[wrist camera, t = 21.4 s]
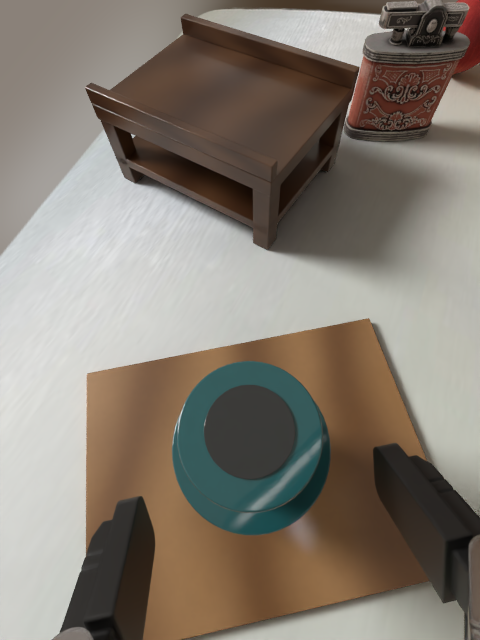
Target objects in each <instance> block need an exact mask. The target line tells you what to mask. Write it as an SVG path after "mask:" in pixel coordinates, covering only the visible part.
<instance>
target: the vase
mask: <svg viewBox="0 0 480 640" xmlns="http://www.w3.org/2000/svg"><path fill="white" fill-rule="evenodd" d="M172 461H173V467H174V472H175V476H176V479H177V482H178V484H179V486H180V489H181V491H182V493H183V494H184V496H185V498H186V499H187V501H188V502H189V504H190V505H191V506H192V507H193V509H194V510H195V511H196V512H197V513H198V514H199V515H200V516H202V517H203V518H204V519H205V520H207V521H208V522H210V523H211V524H212V525H214V526H216V527H218V528H220V529H222V530H225V531H228V532H231V533H234V534H240V535H248V536H258V535H265V534H270V533H273V532H277V531H280V530H282V529H284V528H286V527H288V526H290V525H292V524H293V523H295V522H296V521H298V520H299V519H300V518H301V517H302V516H303V515H305V514H306V513H307V512H308V511H309V510H310V508H311V507H312V506H313V505H314V503H315V502H316V500H317V499H318V497H319V496H320V494H321V492H322V490H323V488H324V485H325V483H326V480H327V476H328V473H329V468H330V461H331V444H330V436H329V432H328V428H327V425H326V422H325V419H324V416H323V415H322V413H321V411H320V409H319V407H318V405H317V404H316V402H315V401H314V399H313V398H312V397H311V395H310V394H309V392H308V391H307V389H306V388H305V387H304V386H303V385H302V383H301V382H299V381H298V380H297V379H296V378H295V377H294V376H292V375H291V374H290V373H288V372H287V371H285V370H283V369H281V368H279V367H277V366H274V365H272V364H268V363H264V362H257V361H241V362H235V363H231V364H227V365H225V366H222V367H220V368H218V369H216V370H214V371H212V372H211V373H209V374H208V375H207V376H205V377H204V378H203V379H202V380H201V381H200V382H199V383H198V384H197V385H196V386H195V387H194V388H193V390H192V391H191V393H190V394H189V396H188V397H187V399H186V401H185V403H184V405H183V407H182V410H181V413H180V415H179V417H178V420H177V423H176V426H175V429H174V434H173V440H172Z"/></svg>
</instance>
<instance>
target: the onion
mask: <svg viewBox="0 0 480 640" xmlns="http://www.w3.org/2000/svg"><path fill="white" fill-rule="evenodd" d="M456 3H466V4H467V5H468V6H469V11H468V13H467V15H466V17H465V20H464V22H463V24H462V26H460V28H459V30H458V31H457V32H459V33H462V34H464V35H466V36H467V37H468V38H469V40H470V44H469V47H468V49H467V51H466V53H465V55H464V57H462V58H461V59H460V60H459V62H458V64H457V66H456V69H455V71H454V73H453V74H456V73H460V72H463V71H466V70H468V69H470V68H472V67H473V66H475V65H477V64H478V63H480V0H458V1H457V2H456ZM445 29H446V27H444V28H443V31H445Z"/></svg>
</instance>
